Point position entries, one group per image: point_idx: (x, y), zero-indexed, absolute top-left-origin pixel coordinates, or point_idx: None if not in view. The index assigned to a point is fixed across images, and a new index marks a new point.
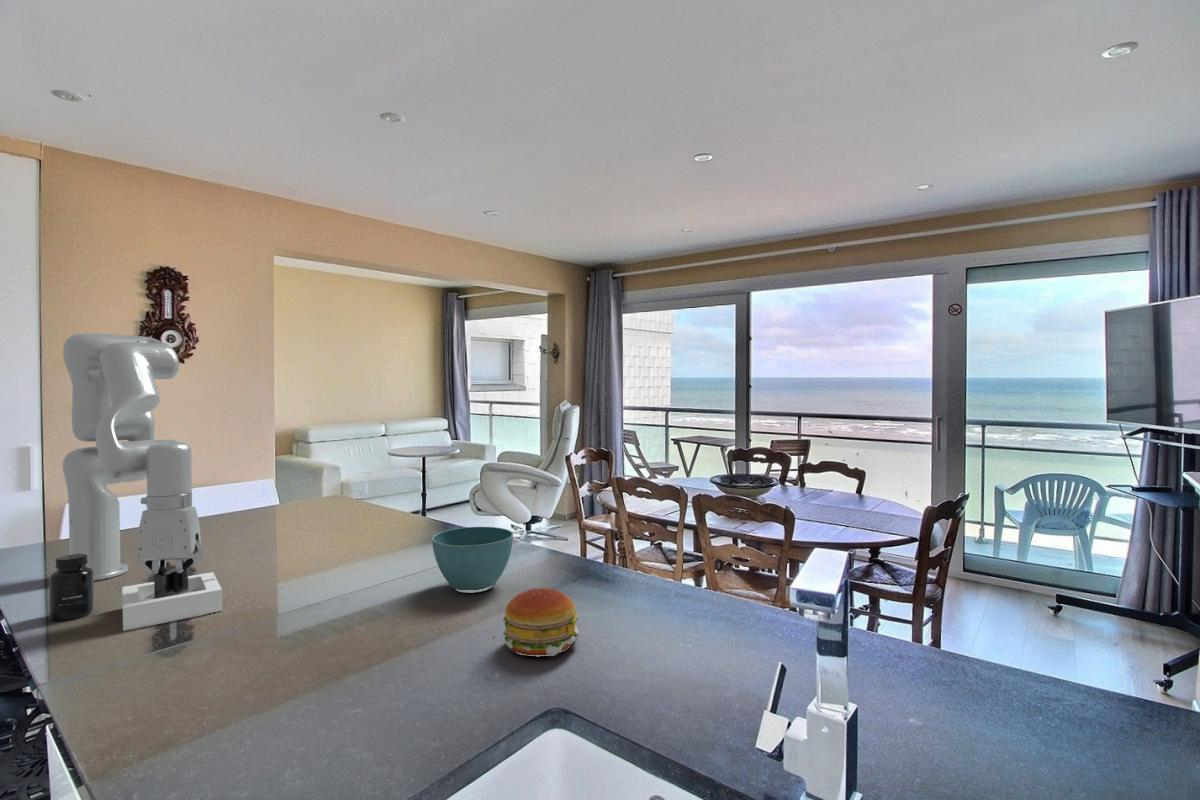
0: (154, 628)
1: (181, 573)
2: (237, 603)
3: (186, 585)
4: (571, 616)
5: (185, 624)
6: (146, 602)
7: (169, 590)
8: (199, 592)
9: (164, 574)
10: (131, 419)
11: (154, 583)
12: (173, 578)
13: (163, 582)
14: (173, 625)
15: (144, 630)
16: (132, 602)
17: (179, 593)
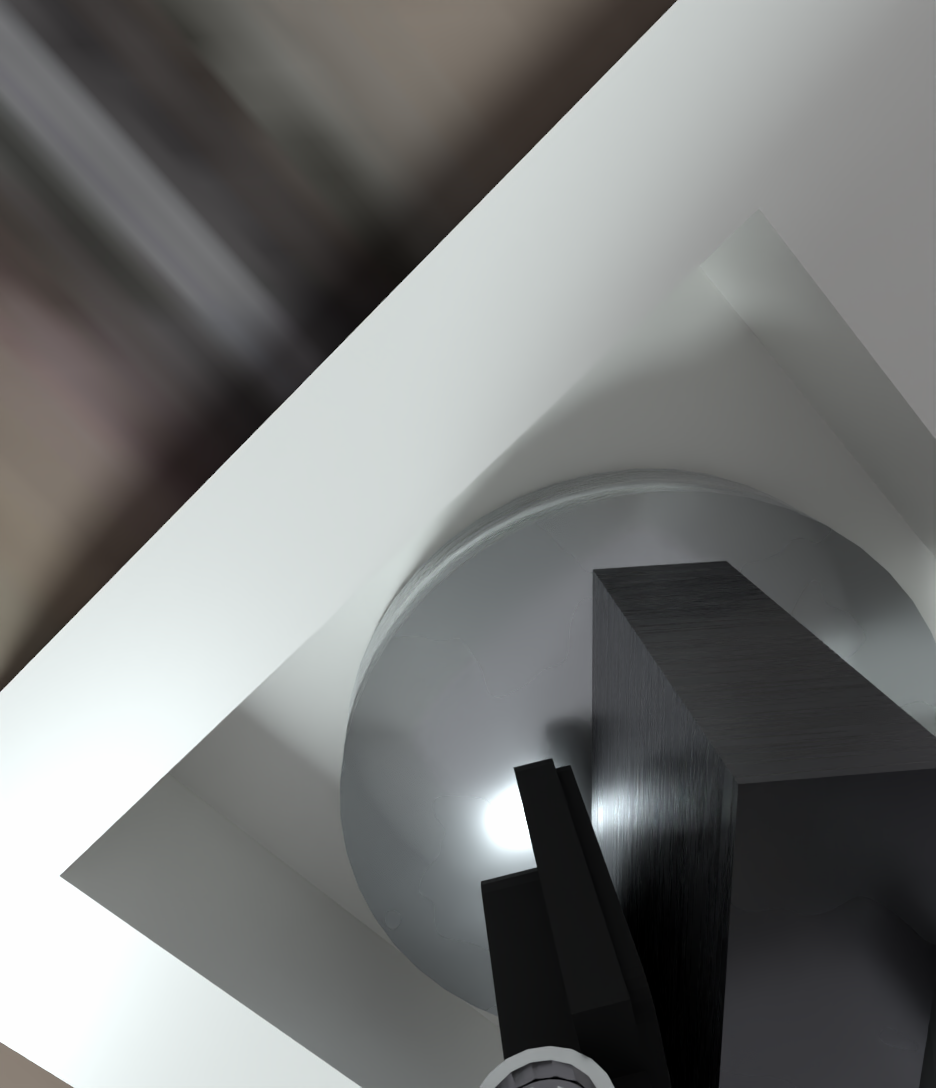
0: (344, 127)
1: (528, 1073)
2: None
3: None
4: None
5: (52, 293)
6: (578, 165)
7: (617, 743)
8: (48, 746)
9: (804, 910)
10: None
11: (863, 682)
12: (624, 918)
13: (685, 721)
14: (181, 247)
15: (420, 47)
16: (846, 144)
17: None
